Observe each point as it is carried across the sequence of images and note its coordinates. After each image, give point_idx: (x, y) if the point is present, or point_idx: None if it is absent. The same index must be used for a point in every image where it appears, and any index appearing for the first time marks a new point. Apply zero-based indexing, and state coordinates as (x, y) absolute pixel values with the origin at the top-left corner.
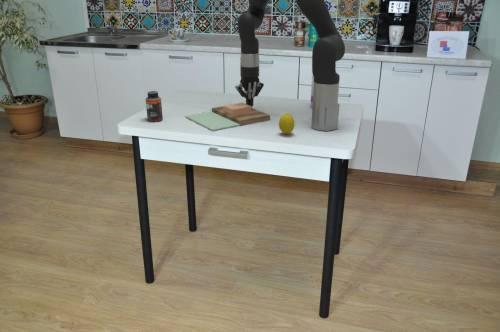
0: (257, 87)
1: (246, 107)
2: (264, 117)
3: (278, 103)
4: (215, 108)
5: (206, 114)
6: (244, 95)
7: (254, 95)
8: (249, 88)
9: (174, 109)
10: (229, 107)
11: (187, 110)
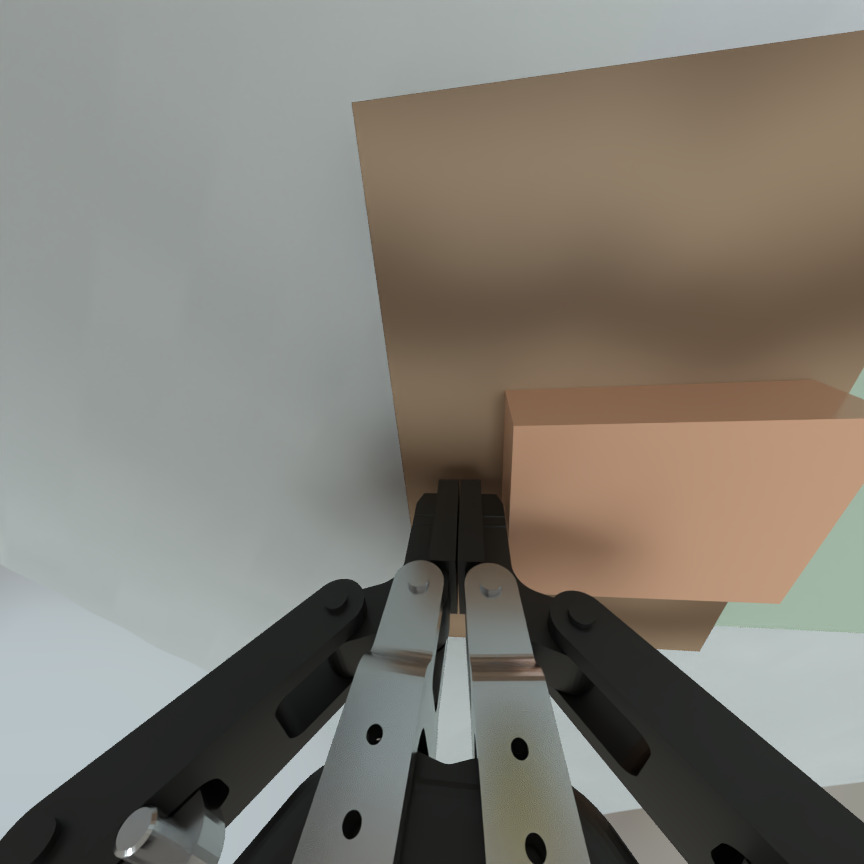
0: (233, 782)
1: (610, 422)
2: (469, 95)
3: (136, 557)
4: (685, 634)
5: (792, 593)
6: (628, 645)
7: (375, 608)
8: (545, 845)
9: (783, 733)
10: (809, 523)
11: (747, 698)
